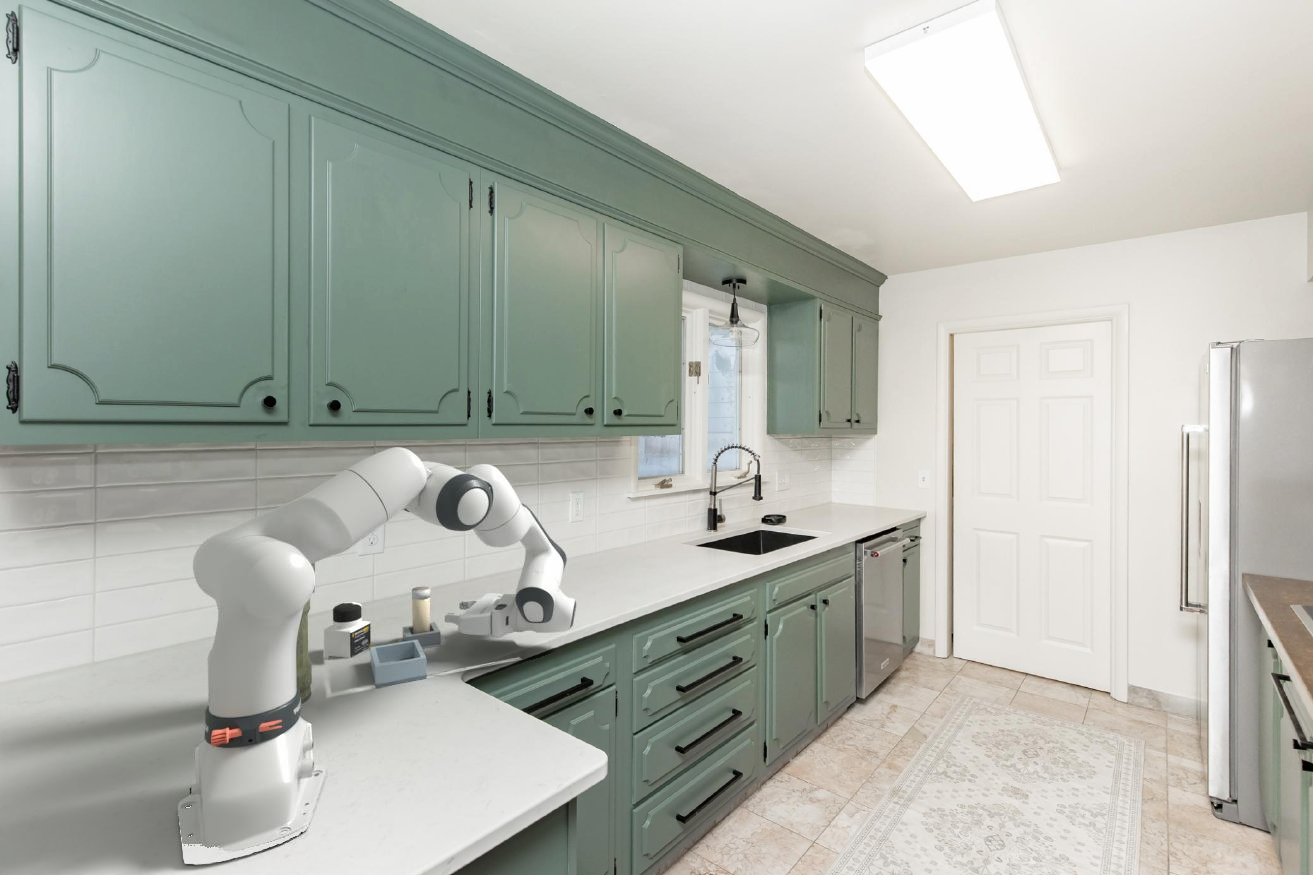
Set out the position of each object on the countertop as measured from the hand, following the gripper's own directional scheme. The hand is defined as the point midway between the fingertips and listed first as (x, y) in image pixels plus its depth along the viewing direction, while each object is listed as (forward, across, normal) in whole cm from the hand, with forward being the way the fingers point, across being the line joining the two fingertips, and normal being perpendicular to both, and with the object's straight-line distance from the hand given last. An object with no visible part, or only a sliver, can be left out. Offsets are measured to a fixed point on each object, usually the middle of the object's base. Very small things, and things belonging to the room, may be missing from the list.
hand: (453, 611), depth 150 cm
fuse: (+8, 0, +8) cm, 11 cm away
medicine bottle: (+23, +7, +9) cm, 25 cm away
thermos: (+23, +29, +9) cm, 38 cm away
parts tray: (+6, +15, +9) cm, 19 cm away
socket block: (+8, 0, +9) cm, 12 cm away
